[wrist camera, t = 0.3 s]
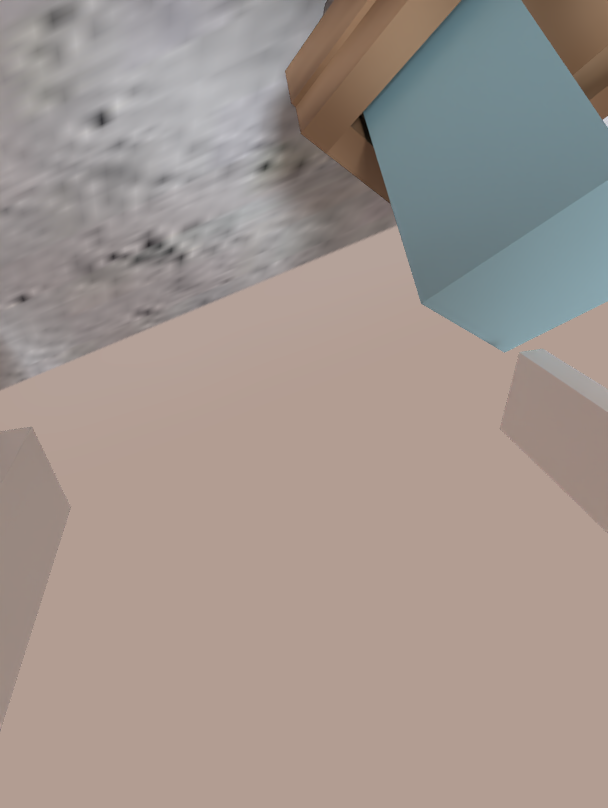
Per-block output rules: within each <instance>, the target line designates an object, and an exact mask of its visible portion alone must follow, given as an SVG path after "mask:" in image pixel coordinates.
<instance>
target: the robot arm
mask: <svg viewBox="0 0 608 808" xmlns="http://www.w3.org/2000/svg"><path fill="white" fill-rule="evenodd" d="M500 430H502V432H504V433H505V434H506V435H507V436H508V437H509V438H510V439H511V440H512V441H513V442H514V443H515V444H516V445H517V446H518V447H519V448H520V449H521V450H522V451H523V452H524V453H525V454H526V455H527V456H528V457H529V458H530V459H531V460H533V461H534V462H535V463H536V464H537V465H538V466H539V467H540V468H541V469H542V470H543V471H544V472H545V473H546V474H547V475H548V476H549V477H550V478H551V479H552V480H553V481H554V482H555V483H556V484H557V485H558V486H559V487H560V488H561V489H562V490H564V491H565V492H566V493H567V494H568V495H569V496H570V497H571V498H572V499H573V500H574V501H575V502H576V503H577V504H578V505H579V506H580V507H581V508H582V509H583V510H584V511H585V512H586V513H587V514H588V515H590V517H592V519H593V520H595V521H596V522H597V523H598V524H599V525H600V526H601V527H602V528H603V529H604V530H605V531H606V532H607V533H608V389H607V388H605V387H603V386H602V385H600V384H599V383H597V382H595V381H594V380H592V379H591V378H589V377H587V376H586V375H584V374H583V373H581V372H579V371H578V370H576V369H575V368H573V367H571V366H570V365H568V364H566V363H565V362H563V361H561V360H560V359H558V358H557V357H555V356H554V355H552V354H550V353H549V352H547V351H545V350H544V349H538V350H531V351H524V352H519V355H518V359H517V363H516V367H515V371H514V375H513V379H512V383H511V386H510V391H509V394H508V398H507V402H506V406H505V410H504V414H503V418H502V422H501V426H500ZM70 508H71V507H70V504H69V502H68V500H67V498H66V496H65V494H64V492H63V490H62V488H61V486H60V484H59V482H58V480H57V478H56V475H55V473H54V471H53V469H52V467H51V465H50V463H49V461H48V459H47V457H46V455H45V453H44V451H43V449H42V447H41V445H40V443H39V441H38V438H37V436H36V434H35V432H34V430H33V428H32V427H27V428H20V429H14V430H7V431H0V730H1V727H2V724H3V721H4V717H5V715H6V711H7V708H8V705H9V702H10V699H11V696H12V692H13V689H14V686H15V683H16V680H17V677H18V673H19V670H20V667H21V664H22V661H23V658H24V654H25V651H26V648H27V645H28V642H29V638H30V635H31V632H32V629H33V625H34V622H35V620H36V616H37V613H38V610H39V607H40V603H41V601H42V597H43V594H44V591H45V588H46V584H47V582H48V578H49V575H50V572H51V569H52V566H53V563H54V559H55V556H56V553H57V550H58V546H59V543H60V540H61V537H62V534H63V531H64V528H65V524H66V521H67V518H68V515H69V512H70Z"/></svg>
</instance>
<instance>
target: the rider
mask: <svg viewBox="0 0 608 808" xmlns="http://www.w3.org/2000/svg"><path fill="white" fill-rule="evenodd" d="M363 114H364V117H365V120H366V124H367V127H368V130H369V134H370V137H371V140H372V143H373V147H374V150H375V153H376V157H377V160H378V163H379V166H380V170H381V173H382V176H383V180H384V183H385V186H386V189H387V193H388V196H389V199H390V203H391V206H392V209H393V212H394V216H395V219H396V222H397V226H398V229H399V232H400V235H401V239H402V242H403V245H404V248H405V252H406V255H407V258H408V262H409V265H410V268H411V272H412V275H413V278H414V281H415V285H416V288H417V291H418V295H419V298H420V301H421V304H423V305H424V306H426V307H428V308H430V309H431V310H433V311H435V312H436V313H438V314H440V315H441V316H443V317H445V318H447V319H448V320H450V321H452V322H454V323H455V324H457V325H459V326H460V327H462V328H464V329H465V330H467V331H469V332H471V333H472V334H474V335H476V336H477V337H479V338H481V339H482V340H484V341H486V342H488V343H489V344H491V345H493V346H494V347H496V348H498V349H500V350H501V351H503V352H507V351H509V350H511V349H513V348H515V347H517V346H518V345H521V344H523V343H525V342H527V341H529V340H531V339H533V338H535V337H537V336H539V335H541V334H543V333H545V332H547V331H549V330H551V329H553V328H555V327H557V326H559V325H561V324H563V323H565V322H567V321H569V320H571V319H573V318H575V317H577V316H579V315H581V314H583V313H585V312H587V311H589V310H591V309H593V308H595V307H597V306H599V305H601V304H603V303H605V302H607V301H608V127H607V126H606V124H605V123H604V122H603V120H602V119H601V117H600V116H599V114H598V113H597V111H596V110H595V108H594V107H593V105H592V104H591V102H590V101H589V99H588V98H587V96H586V95H585V94H584V92H583V91H582V89H581V88H580V86H579V85H578V83H577V82H576V80H575V79H574V77H573V76H572V74H571V73H570V71H569V70H568V68H567V67H566V66H565V64H564V63H563V61H562V60H561V58H560V57H559V55H558V54H557V52H556V51H555V49H554V48H553V46H552V45H551V43H550V42H549V40H548V39H547V38H546V36H545V35H544V33H543V32H542V30H541V29H540V27H539V26H538V24H537V23H536V21H535V20H534V18H533V17H532V15H531V14H530V12H529V11H528V10H527V8H526V7H525V5H524V4H523V2H522V1H521V0H461V1H460V2H459V4H458V5H457V6H456V7H455V8H454V9H453V10H452V11H451V13H450V14H449V15H448V16H447V17H446V18H445V19H444V21H443V22H442V23H441V24H440V25H439V26H438V27H437V28H436V30H435V31H434V32H433V33H432V34H431V35H430V36H429V38H428V39H427V40H426V41H425V42H424V43H423V44H422V45H421V47H420V48H419V49H418V50H417V51H416V52H415V53H414V55H413V56H412V57H411V58H410V59H409V60H408V61H407V62H406V64H405V65H404V66H403V67H402V68H401V69H400V70H399V72H398V73H397V74H396V75H395V76H394V77H393V78H392V79H391V81H390V82H389V83H388V84H387V85H386V86H385V87H384V89H383V90H382V91H381V92H380V93H379V94H378V95H377V97H376V98H375V99H374V100H373V101H372V102H371V103H370V104H369V106H368V107H367V108H366V109H365V110H364V111H363Z"/></svg>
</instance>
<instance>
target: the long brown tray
mask: <svg viewBox="0 0 608 808" xmlns="http://www.w3.org/2000/svg"><path fill="white" fill-rule="evenodd" d="M460 1H461V0H327V2H326V5H325V8H324V15H323V17H322V18H321V20H320V21H319V23H318V24H317V26H316V27H315V29H314V30H313V31H312V33H311V34H310V36H309V37H308V39H307V40H306V42H305V43H304V44H303V46H302V47H301V49H300V50H299V52H298V53H297V55H296V56H295V57H294V59H293V60H292V62H291V63H290V65H289V66H288V68H287V69H286V71H285V73H286V78H287V83H288V89H289V94H290V99H291V104H293V105H294V106H295V107H296V111H297V116H298V121H299V126H300V131H301V134H302V135H303V136H304V137H306V138H307V139H308V140H310V141H311V142H312V143H313V144H315V145H316V146H317V147H318V148H320V149H321V150H322V151H324V152H325V153H326V154H327V155H329V156H330V157H331V158H333V159H334V160H335V161H336V162H338V163H339V164H340V165H342V166H343V167H344V168H345V169H347V170H348V171H349V172H350V173H352V174H353V175H354V176H356V177H357V178H358V179H359V180H361V181H362V182H363V183H365V184H366V185H367V186H368V187H370V188H371V189H372V190H373V191H375V192H376V193H377V194H379V195H380V196H381V197H382V198H384V199H385V200H386V201H388V202H389V203H390V199H389V196H388V193H387V189H386V186H385V183H384V180H383V176H382V173H381V170H380V166H379V163H378V160H377V157H376V153H375V150H374V147H373V143H372V140H371V137H370V134H369V130H368V127H367V124H366V120H365V117H364V114H363V111H364V110H365V109H366V108H367V107H368V106H369V104H370V103H371V102H372V101H373V100H374V99H375V98H376V97H377V95H378V94H379V93H380V92H381V91H382V90H383V89H384V87H385V86H386V85H387V84H388V83H389V82H390V81H391V79H392V78H393V77H394V76H395V75H396V74H397V73H398V72H399V70H400V69H401V68H402V67H403V66H404V65H405V64H406V62H407V61H408V60H409V59H410V58H411V57H412V56H413V55H414V53H415V52H416V51H417V50H418V49H419V48H420V47H421V45H422V44H423V43H424V42H425V41H426V40H427V39H428V38H429V36H430V35H431V34H432V33H433V32H434V31H435V30H436V28H437V27H438V26H439V25H440V24H441V23H442V22H443V21H444V19H445V18H446V17H447V16H448V15H449V14H450V13H451V11H452V10H453V9H454V8H455V7H456V6H457V5H458V4H459V2H460ZM521 1H522V2H523V4H524V5H525V7H526V8H527V10H528V11H529V12H530V14H531V15H532V17H533V18H534V20H535V21H536V23H537V24H538V26H539V27H540V29H541V30H542V32H543V33H544V35H545V36H546V38H547V39H548V40H549V42H550V43H551V45H552V46H553V48H554V49H555V51H556V52H557V54H558V55H559V57H560V58H561V60H562V61H563V63H564V64H565V66H566V67H567V68H568V70H569V71H570V73H571V74H572V76H573V77H574V79H575V80H576V82H577V83H578V85H579V86H580V88H581V89H582V91H583V92H584V94H585V95H586V96H587V98H588V99H589V101H590V102H591V104H592V105H593V107H594V108H595V110H596V111H597V113H598V114H599V116H600V117H601V119H602V120H603V119H604V118H605V117H607V116H608V0H521ZM390 204H391V203H390Z"/></svg>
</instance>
